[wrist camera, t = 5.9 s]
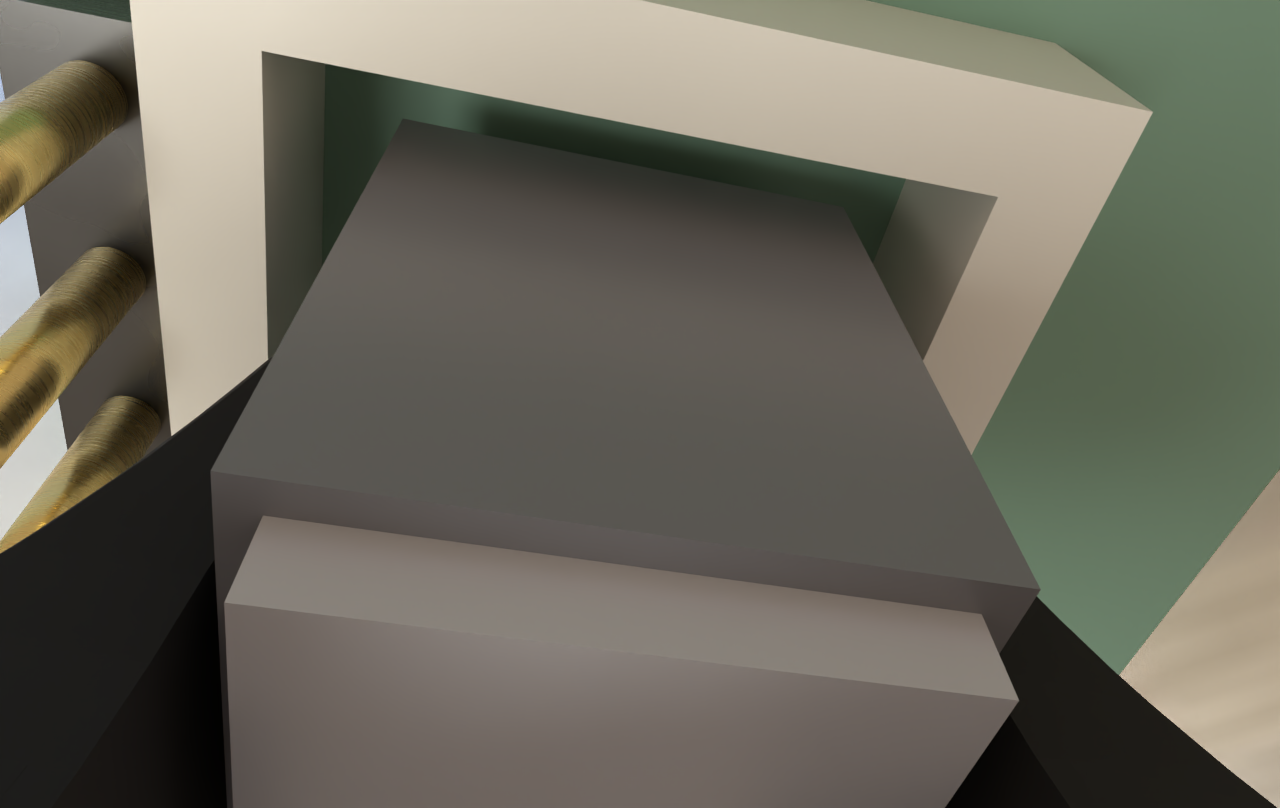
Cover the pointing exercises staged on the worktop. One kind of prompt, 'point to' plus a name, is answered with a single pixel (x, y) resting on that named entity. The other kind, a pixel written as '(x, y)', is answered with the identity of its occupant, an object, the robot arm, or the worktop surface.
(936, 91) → the socket
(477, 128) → the board
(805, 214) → the plug
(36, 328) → the pin header
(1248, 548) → the worktop surface
